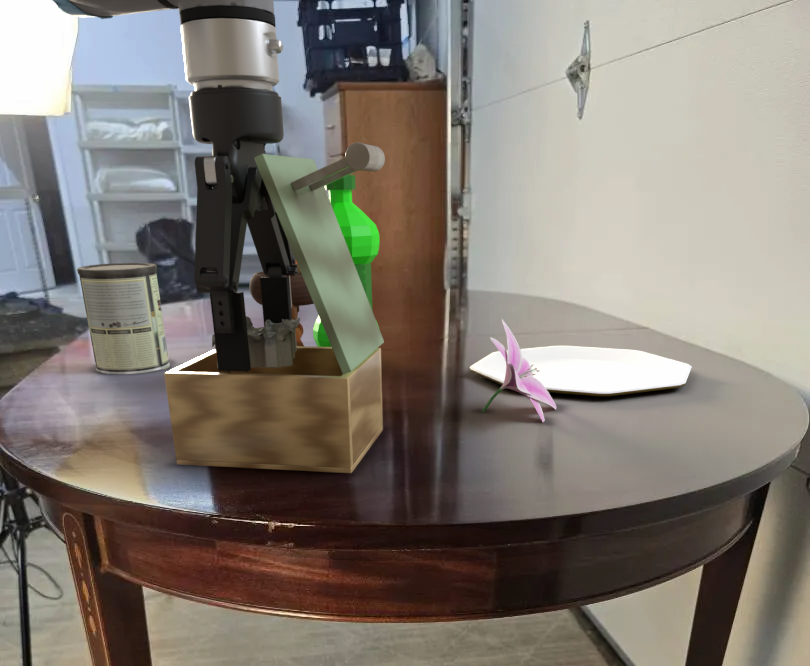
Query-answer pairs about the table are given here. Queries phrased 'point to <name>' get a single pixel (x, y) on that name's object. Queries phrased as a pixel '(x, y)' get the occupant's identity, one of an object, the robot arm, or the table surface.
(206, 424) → the tan wooden box
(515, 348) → the lily
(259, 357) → the egg carton
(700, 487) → the table surface
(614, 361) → the plate
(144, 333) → the coffee can
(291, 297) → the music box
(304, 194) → the lid
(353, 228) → the plastic bottle
